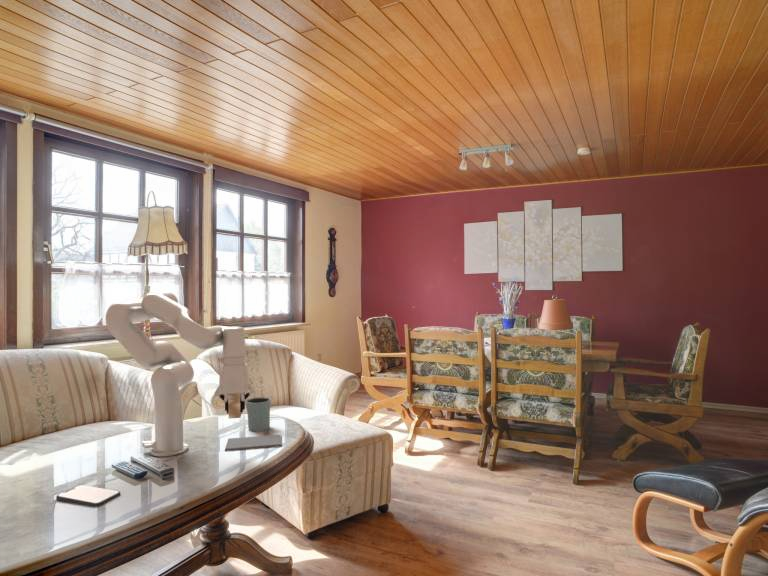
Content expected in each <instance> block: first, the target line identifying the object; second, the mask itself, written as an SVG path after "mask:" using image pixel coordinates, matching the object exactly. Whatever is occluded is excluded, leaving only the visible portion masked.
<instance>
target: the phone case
mask: <svg viewBox="0 0 768 576" xmlns="http://www.w3.org/2000/svg"><path fill="white" fill-rule="evenodd" d="M55 496H56V501H58V502H63V503H69V504H73V505H74V504H75V505H81V506H86V505H87V506H86V507H92V506H93V508H95V506H98V507H100V505H101V506H103V505H105V504H107V503H108V501H109V502H110V500H111V501H113V500H114V498H115V499H117V498H119V497H121V491H119V490H116V489H115V490H114V489H108V488H104V487H97V486H92V485H86V484H79V485H76V486H75V487H73V488H70V489H68V490H65V491H63V492H61V493H58V494H57V495H55ZM118 496H119V497H118ZM116 497H117V498H116ZM112 499H113V500H112ZM104 503H105V504H104ZM102 504H103V505H102Z"/></svg>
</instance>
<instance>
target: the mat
mask: <svg viewBox="0 0 768 576" xmlns="http://www.w3.org/2000/svg"><path fill="white" fill-rule="evenodd" d="M276 446H279V447H282V434H271V435H258V436H257V435H256V436H246V437H245V436H244V437H243V436H242V437H231V438H229V437H228V438H227V442H226V445H225V449H224V451H225V452H228V451H227V450H231V451H241V450H240V449H243V450H251V449H250V448H255V449H264V448H263V447H267V448H276Z"/></svg>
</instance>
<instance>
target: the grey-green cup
mask: <svg viewBox="0 0 768 576" xmlns="http://www.w3.org/2000/svg"><path fill="white" fill-rule="evenodd" d="M271 400H272V399H271V398H270V397H262V396H261V397H251V398H247V399H246V400H245V407H246V413H247V423H248V424H247V426H248V431H250V430H251V431H250V432H263V431H262V430H264V431H267V430H269V429H270V424H271V423H270V419H271V418H270V417H271V414H270V413H271V403H272V401H271ZM268 428H269V429H268ZM266 429H267V430H266Z"/></svg>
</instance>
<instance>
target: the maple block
mask: <svg viewBox="0 0 768 576" xmlns="http://www.w3.org/2000/svg"><path fill="white" fill-rule="evenodd" d="M240 401H241V395H240V394H228V411H229V413H228V419H241V417H242V415H243V412H242V413H241V412H240Z"/></svg>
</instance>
